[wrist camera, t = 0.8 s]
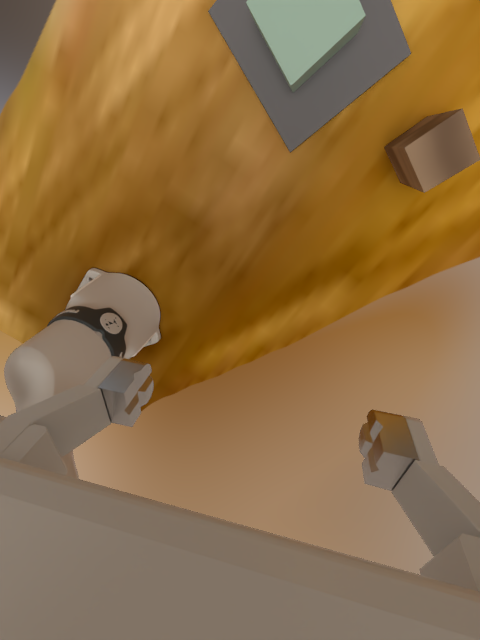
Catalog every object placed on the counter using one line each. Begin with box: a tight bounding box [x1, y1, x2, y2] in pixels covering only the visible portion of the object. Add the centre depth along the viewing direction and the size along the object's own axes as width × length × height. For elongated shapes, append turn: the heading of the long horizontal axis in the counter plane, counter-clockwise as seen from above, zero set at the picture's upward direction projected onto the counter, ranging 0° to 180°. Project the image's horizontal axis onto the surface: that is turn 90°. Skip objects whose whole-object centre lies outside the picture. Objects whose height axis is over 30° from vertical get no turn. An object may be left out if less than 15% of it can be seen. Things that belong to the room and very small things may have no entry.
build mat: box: [208, 0, 411, 152], centre depth 31 cm, size 15×17×1 cm
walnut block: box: [384, 109, 480, 193], centre depth 31 cm, size 5×5×9 cm
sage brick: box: [246, 0, 366, 92], centre depth 29 cm, size 8×8×5 cm
